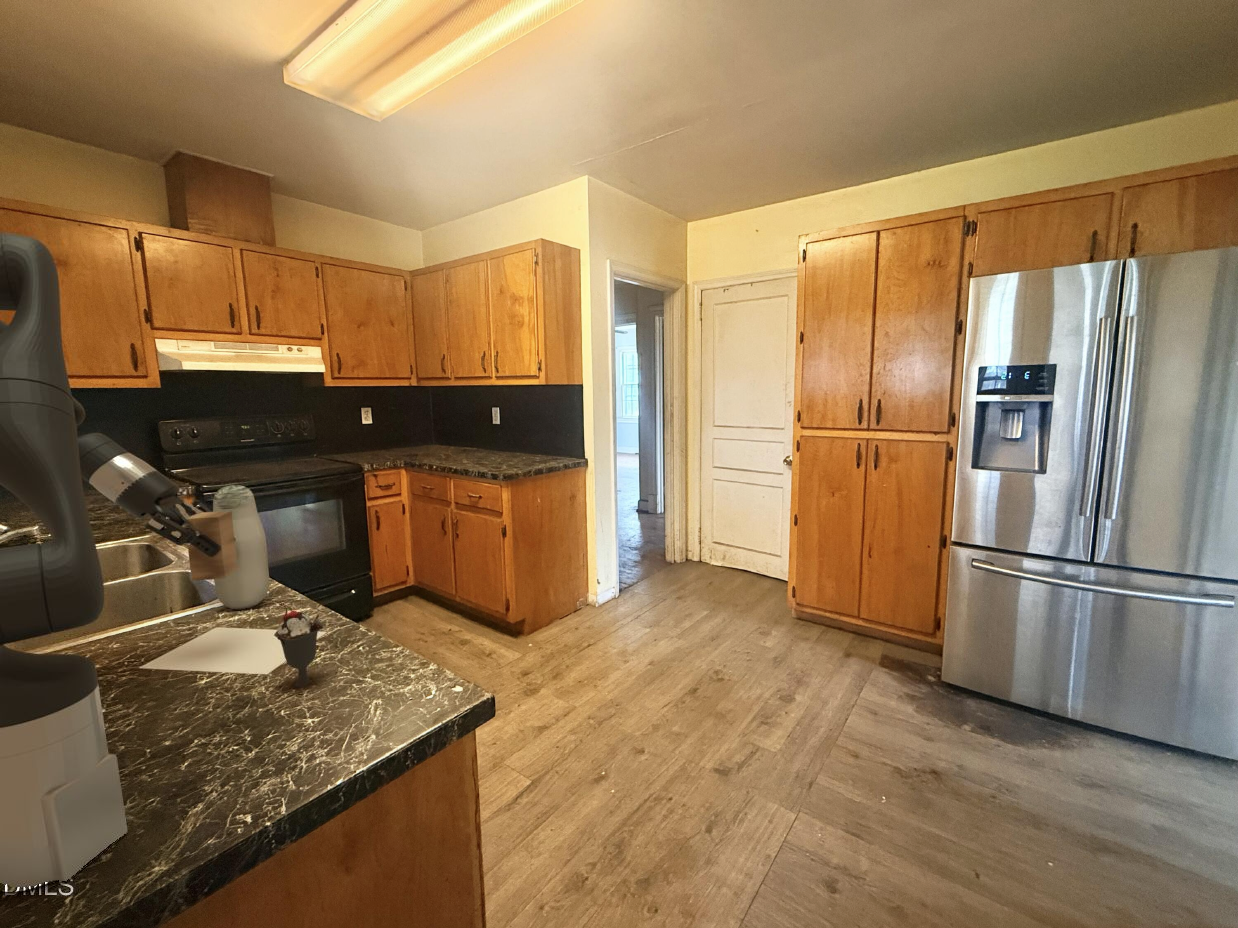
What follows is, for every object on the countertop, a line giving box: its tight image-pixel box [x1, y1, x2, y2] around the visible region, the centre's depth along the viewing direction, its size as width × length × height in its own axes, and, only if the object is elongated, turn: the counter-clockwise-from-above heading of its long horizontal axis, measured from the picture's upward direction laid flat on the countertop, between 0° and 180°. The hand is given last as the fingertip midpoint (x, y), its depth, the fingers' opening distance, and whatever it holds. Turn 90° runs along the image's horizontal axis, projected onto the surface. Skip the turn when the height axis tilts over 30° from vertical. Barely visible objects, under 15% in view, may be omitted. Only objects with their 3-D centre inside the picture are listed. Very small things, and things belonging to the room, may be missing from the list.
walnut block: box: [187, 511, 237, 582], centre depth 94 cm, size 5×5×11 cm
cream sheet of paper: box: [138, 626, 328, 675], centre depth 98 cm, size 24×16×1 cm, turn 85°
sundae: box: [274, 602, 324, 697], centre depth 86 cm, size 7×7×15 cm
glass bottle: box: [212, 484, 270, 610], centre depth 118 cm, size 10×10×28 cm
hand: (224, 548), depth 94 cm, fingers closed on walnut block, 5 cm apart
